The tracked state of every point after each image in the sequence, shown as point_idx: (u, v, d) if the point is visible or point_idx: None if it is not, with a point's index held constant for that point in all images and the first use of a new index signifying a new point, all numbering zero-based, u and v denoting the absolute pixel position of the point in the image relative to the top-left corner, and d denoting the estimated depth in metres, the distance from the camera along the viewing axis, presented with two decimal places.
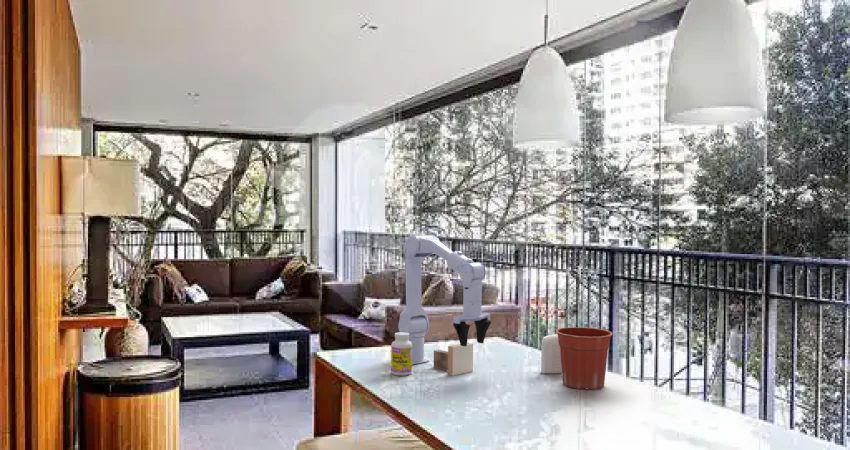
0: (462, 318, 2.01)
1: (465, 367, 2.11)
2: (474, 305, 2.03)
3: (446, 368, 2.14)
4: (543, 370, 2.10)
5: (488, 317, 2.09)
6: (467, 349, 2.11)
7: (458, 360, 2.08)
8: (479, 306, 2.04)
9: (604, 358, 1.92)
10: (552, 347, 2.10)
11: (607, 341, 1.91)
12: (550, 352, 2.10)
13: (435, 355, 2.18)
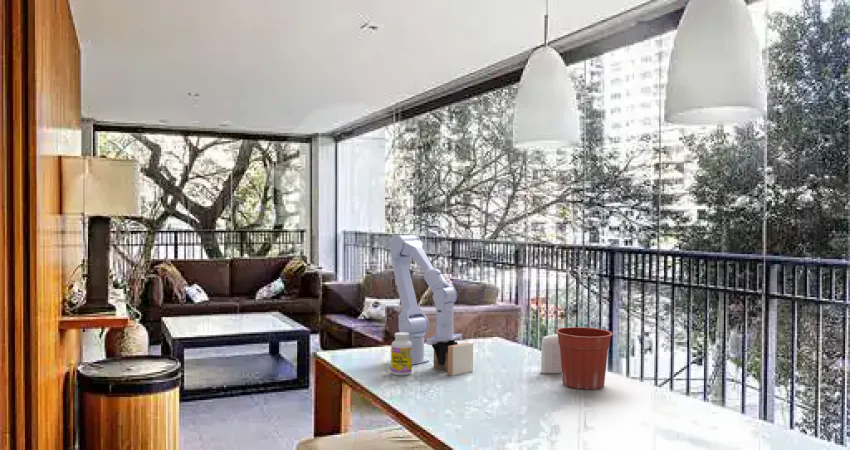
0: (434, 340, 2.12)
1: (465, 367, 2.11)
2: (446, 327, 2.14)
3: (446, 368, 2.14)
4: (543, 370, 2.10)
5: (460, 338, 2.20)
6: (467, 349, 2.11)
7: (458, 360, 2.08)
8: (451, 328, 2.14)
9: (604, 358, 1.92)
10: (552, 347, 2.10)
11: (607, 341, 1.91)
12: (550, 352, 2.10)
13: (435, 355, 2.18)
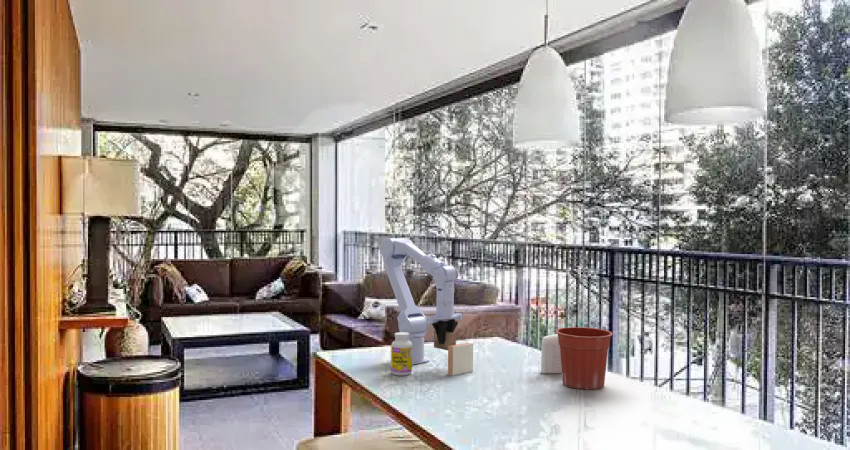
0: (435, 318, 2.12)
1: (465, 367, 2.11)
2: (447, 306, 2.14)
3: (446, 348, 2.14)
4: (543, 370, 2.10)
5: (460, 317, 2.20)
6: (467, 349, 2.11)
7: (458, 360, 2.08)
8: (451, 307, 2.14)
9: (604, 358, 1.92)
10: (552, 347, 2.10)
11: (607, 341, 1.91)
12: (550, 352, 2.10)
13: (435, 335, 2.18)
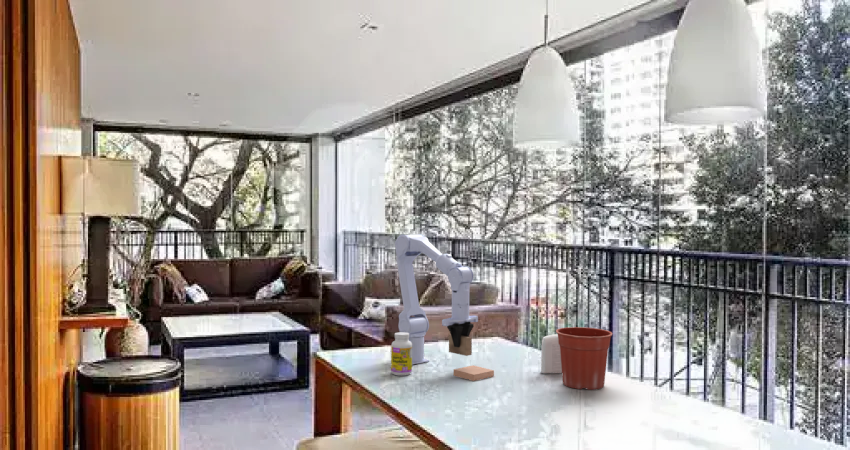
0: (450, 321, 2.06)
1: None
2: (462, 308, 2.08)
3: (462, 352, 2.09)
4: (543, 370, 2.10)
5: (476, 320, 2.15)
6: None
7: None
8: (467, 309, 2.09)
9: (604, 358, 1.92)
10: (552, 347, 2.10)
11: (607, 341, 1.91)
12: (550, 352, 2.10)
13: (450, 339, 2.13)
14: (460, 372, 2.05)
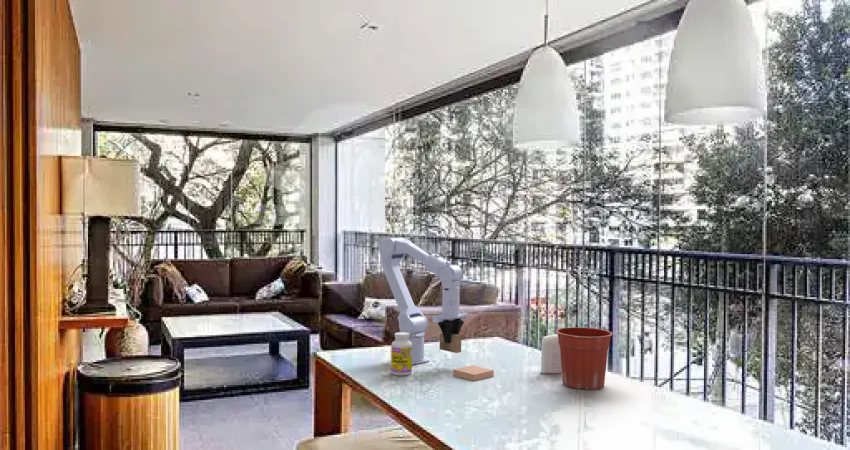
0: (440, 317, 2.13)
1: None
2: (452, 305, 2.15)
3: (452, 350, 2.16)
4: (543, 370, 2.10)
5: (466, 316, 2.21)
6: None
7: None
8: (457, 306, 2.16)
9: (604, 358, 1.92)
10: (552, 347, 2.10)
11: (607, 341, 1.91)
12: (550, 352, 2.10)
13: (441, 337, 2.20)
14: (460, 372, 2.05)
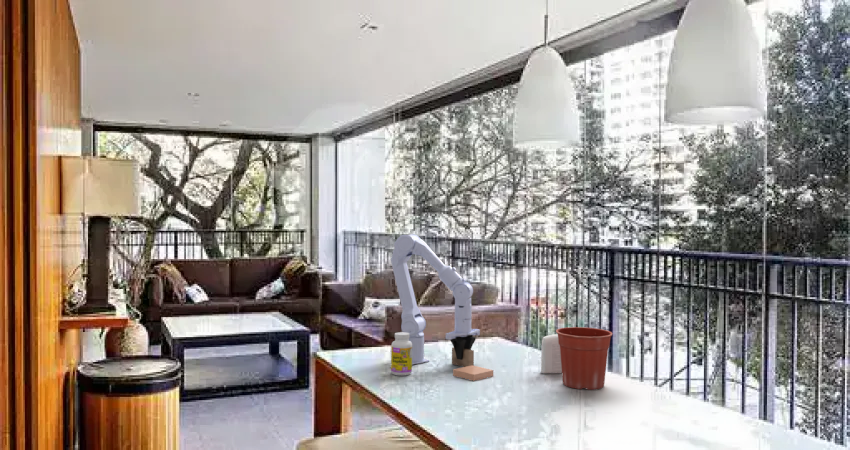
0: (453, 334, 2.17)
1: None
2: (465, 322, 2.19)
3: (464, 365, 2.19)
4: (543, 370, 2.10)
5: (478, 333, 2.25)
6: None
7: None
8: (469, 323, 2.19)
9: (604, 358, 1.92)
10: (552, 347, 2.10)
11: (607, 341, 1.91)
12: (550, 352, 2.10)
13: (453, 352, 2.23)
14: (460, 372, 2.05)
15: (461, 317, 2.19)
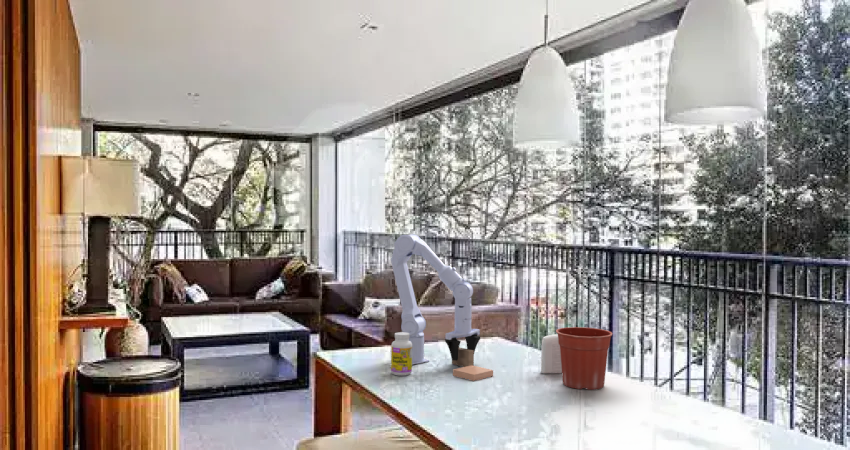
0: (453, 334, 2.17)
1: None
2: (465, 322, 2.19)
3: (464, 365, 2.19)
4: (543, 370, 2.10)
5: (478, 333, 2.25)
6: None
7: None
8: (469, 323, 2.19)
9: (604, 358, 1.92)
10: (552, 347, 2.10)
11: (607, 341, 1.91)
12: (550, 352, 2.10)
13: None
14: (460, 372, 2.05)
15: (461, 317, 2.19)
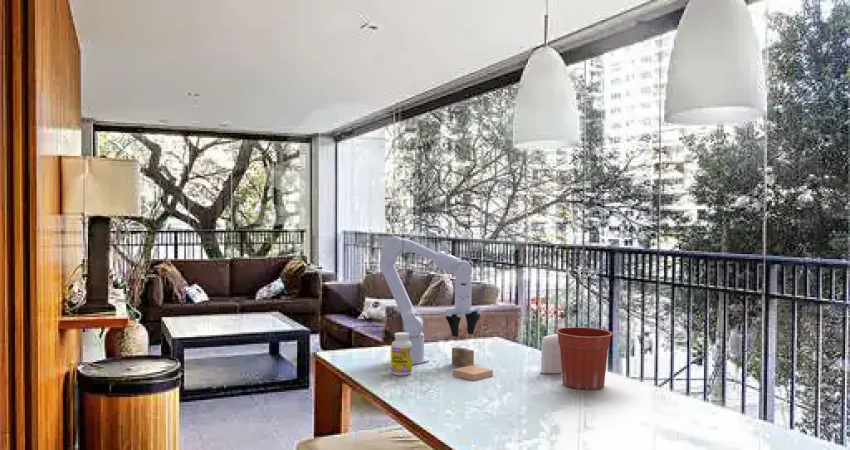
0: (453, 311, 2.21)
1: None
2: (465, 299, 2.23)
3: (464, 365, 2.19)
4: (543, 370, 2.10)
5: (478, 310, 2.29)
6: None
7: None
8: (469, 300, 2.24)
9: (604, 358, 1.92)
10: (552, 347, 2.10)
11: (607, 341, 1.91)
12: (550, 352, 2.10)
13: (453, 352, 2.23)
14: (459, 372, 2.05)
15: (463, 294, 2.23)
